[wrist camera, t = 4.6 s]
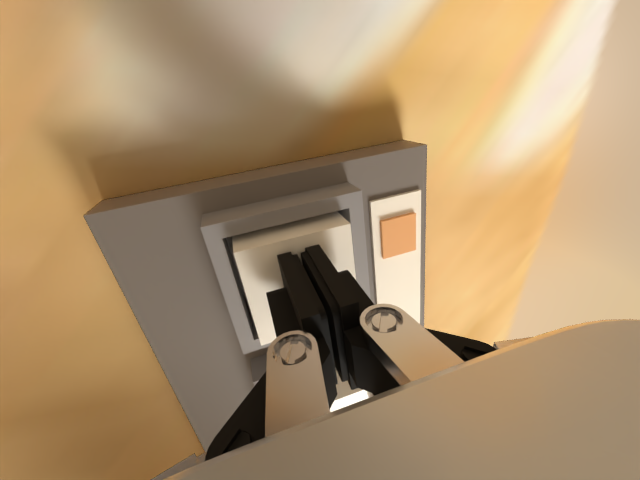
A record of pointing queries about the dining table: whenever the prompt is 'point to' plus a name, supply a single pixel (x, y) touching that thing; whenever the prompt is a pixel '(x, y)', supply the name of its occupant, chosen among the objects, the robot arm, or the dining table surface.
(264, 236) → the button
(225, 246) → the button board
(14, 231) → the dining table surface
